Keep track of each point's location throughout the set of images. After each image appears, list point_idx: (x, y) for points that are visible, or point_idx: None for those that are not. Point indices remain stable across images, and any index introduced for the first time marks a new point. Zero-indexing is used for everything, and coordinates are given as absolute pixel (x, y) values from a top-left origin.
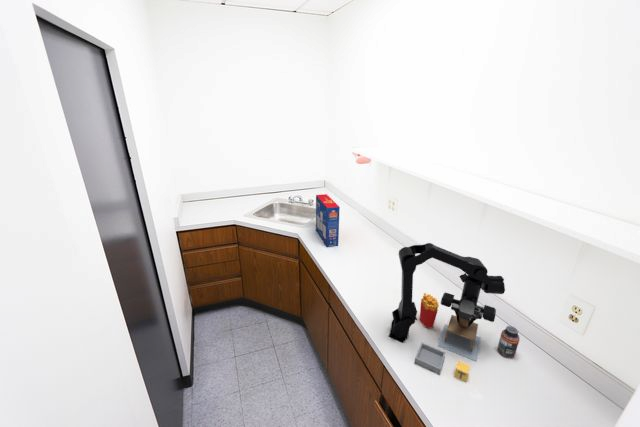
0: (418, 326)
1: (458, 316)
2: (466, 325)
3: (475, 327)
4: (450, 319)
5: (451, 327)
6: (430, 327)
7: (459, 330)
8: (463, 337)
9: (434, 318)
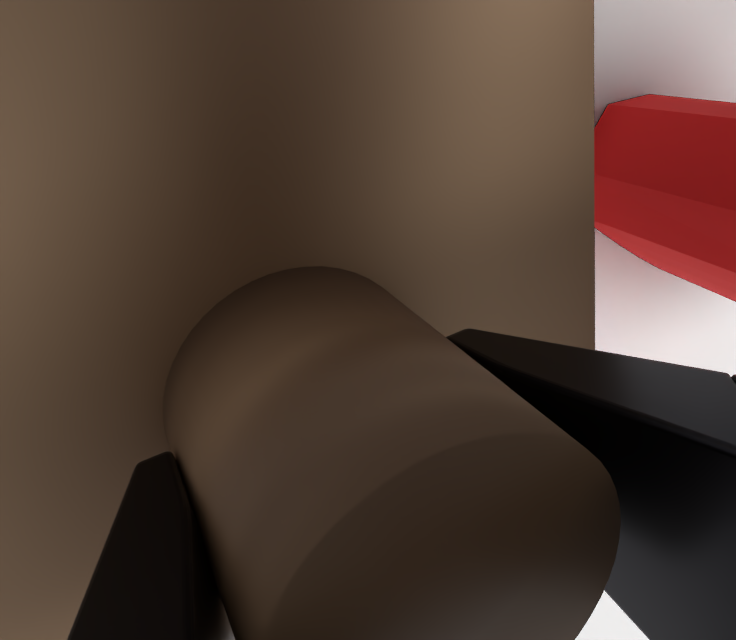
0: (715, 20)
1: (663, 410)
2: (216, 388)
3: (4, 600)
4: (590, 309)
5: (509, 16)
6: (597, 130)
7: (287, 68)
8: None
9: (726, 186)
